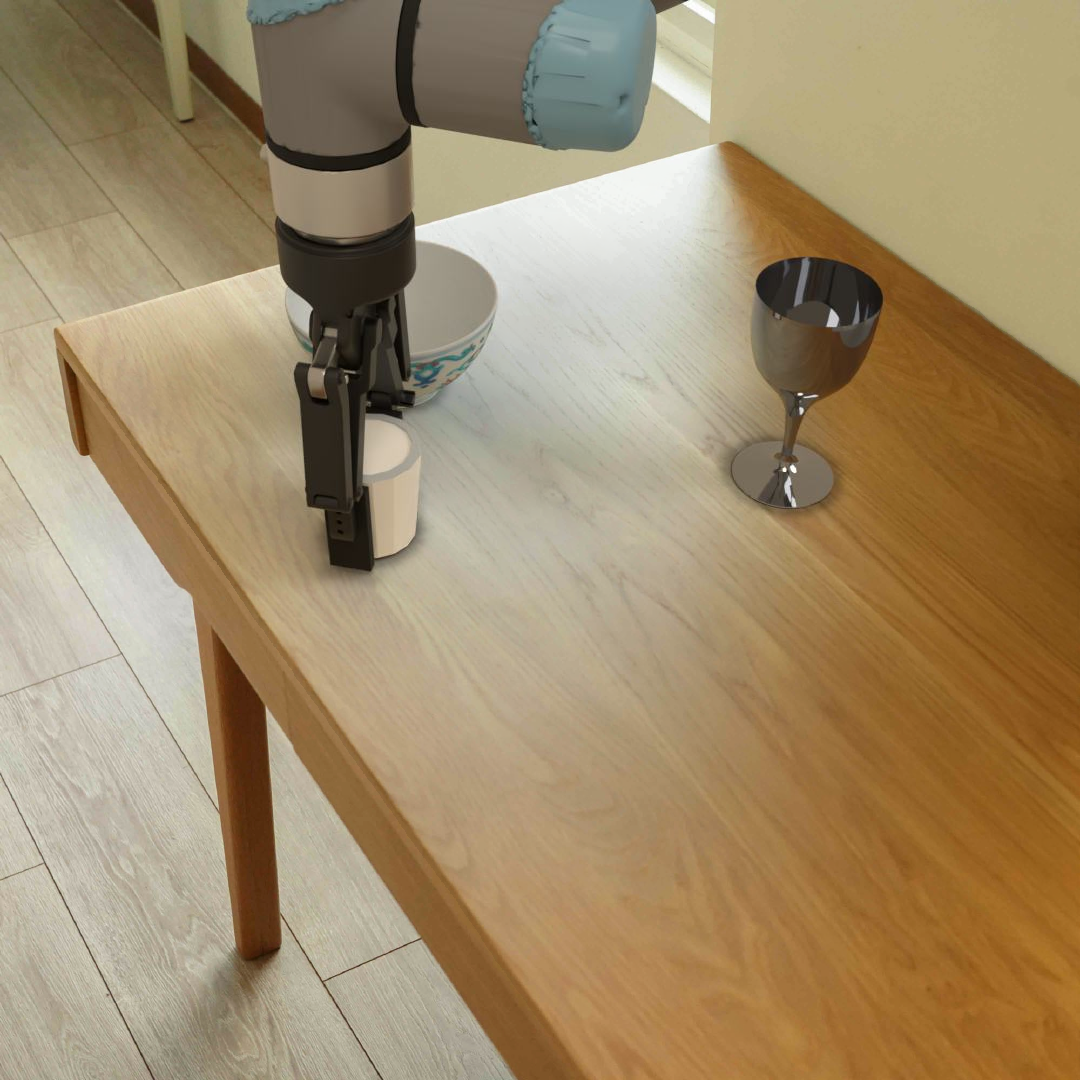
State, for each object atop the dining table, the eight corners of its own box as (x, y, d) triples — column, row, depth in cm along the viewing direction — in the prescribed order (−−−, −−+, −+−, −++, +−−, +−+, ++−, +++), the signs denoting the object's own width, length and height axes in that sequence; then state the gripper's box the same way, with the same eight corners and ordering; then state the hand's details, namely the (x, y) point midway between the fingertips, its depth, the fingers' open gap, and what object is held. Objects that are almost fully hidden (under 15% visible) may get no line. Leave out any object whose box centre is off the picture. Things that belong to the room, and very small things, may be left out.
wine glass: (853, 457, 96) (897, 275, 85) (821, 525, 90) (864, 340, 80) (746, 426, 98) (777, 245, 88) (709, 490, 93) (737, 306, 82)
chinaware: (255, 373, 101) (243, 285, 96) (414, 302, 108) (411, 217, 103) (375, 474, 93) (369, 383, 88) (538, 390, 100) (541, 302, 95)
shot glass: (446, 520, 89) (444, 437, 84) (381, 580, 85) (374, 496, 80) (366, 480, 92) (359, 398, 87) (298, 536, 88) (287, 453, 83)
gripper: (333, 120, 80) (358, 424, 96) (209, 301, 66) (262, 623, 82) (456, 135, 79) (461, 440, 95) (357, 322, 65) (382, 643, 81)
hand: (369, 524), depth 88 cm, fingers closed on shot glass, 7 cm apart
